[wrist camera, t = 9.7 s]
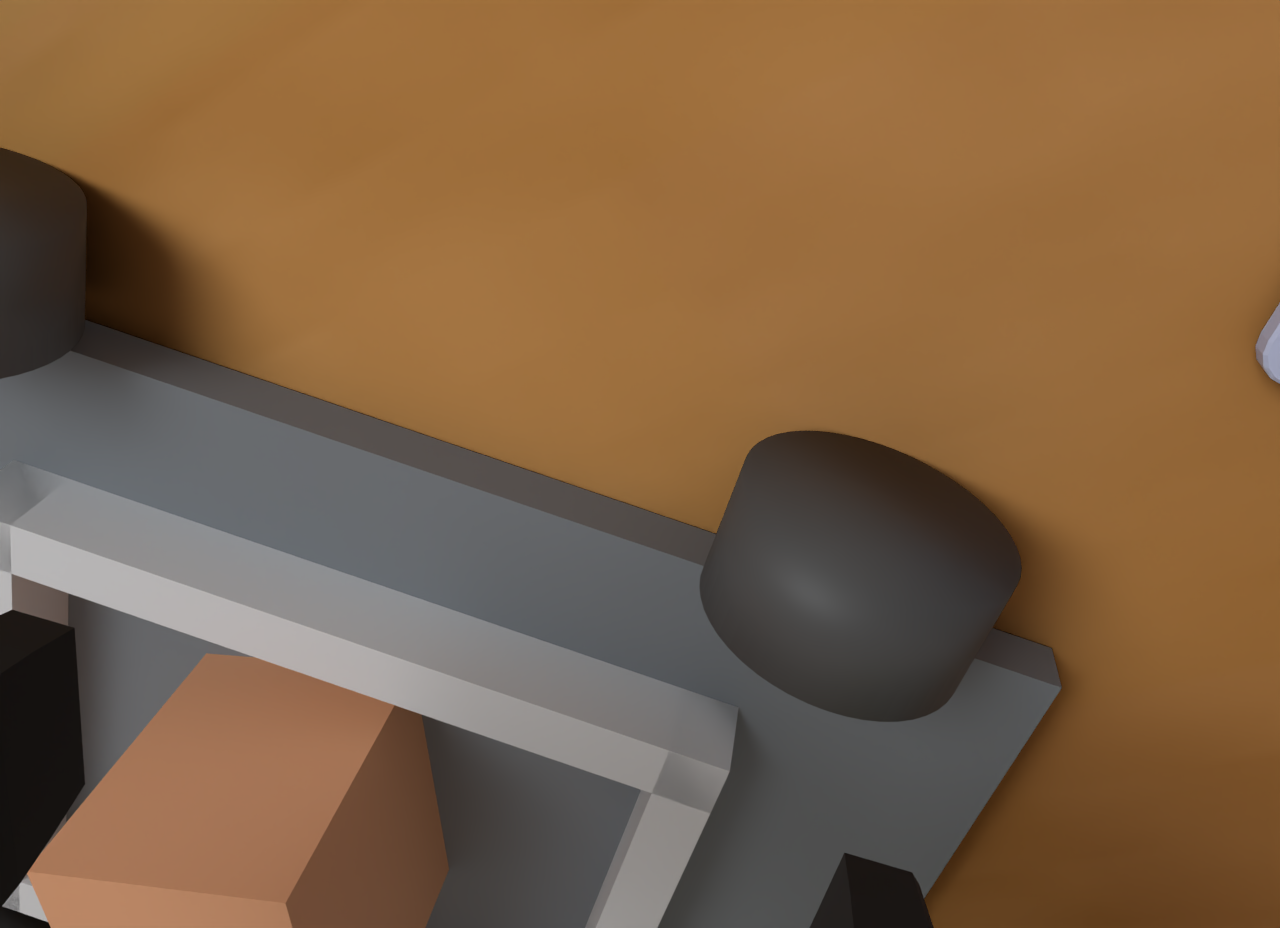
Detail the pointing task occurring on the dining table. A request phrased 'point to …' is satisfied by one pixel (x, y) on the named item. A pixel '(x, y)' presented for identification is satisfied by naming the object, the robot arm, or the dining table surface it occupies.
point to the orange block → (255, 813)
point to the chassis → (517, 619)
